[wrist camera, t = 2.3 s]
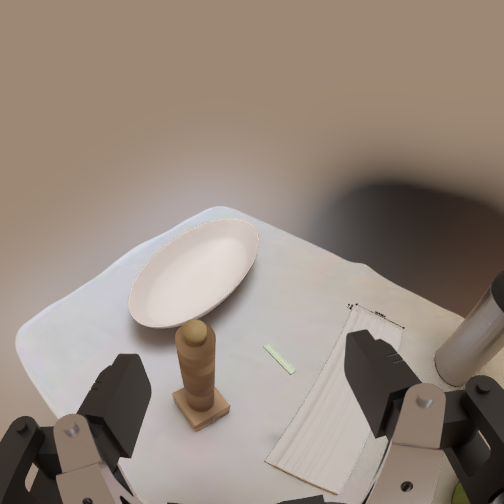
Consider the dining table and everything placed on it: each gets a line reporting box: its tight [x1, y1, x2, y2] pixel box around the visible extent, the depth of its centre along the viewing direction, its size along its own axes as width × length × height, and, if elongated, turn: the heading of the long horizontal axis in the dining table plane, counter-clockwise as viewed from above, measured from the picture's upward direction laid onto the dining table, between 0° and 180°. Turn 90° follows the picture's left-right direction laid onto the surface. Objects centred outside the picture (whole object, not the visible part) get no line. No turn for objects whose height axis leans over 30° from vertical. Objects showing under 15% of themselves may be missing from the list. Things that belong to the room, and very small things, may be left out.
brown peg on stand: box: [172, 319, 230, 432], centre depth 25 cm, size 5×5×18 cm
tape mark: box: [264, 343, 296, 375], centre depth 39 cm, size 1×6×1 cm, turn 39°
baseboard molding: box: [265, 303, 405, 494], centre depth 35 cm, size 31×3×12 cm
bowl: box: [128, 218, 259, 328], centre depth 46 cm, size 30×15×6 cm, turn 153°
